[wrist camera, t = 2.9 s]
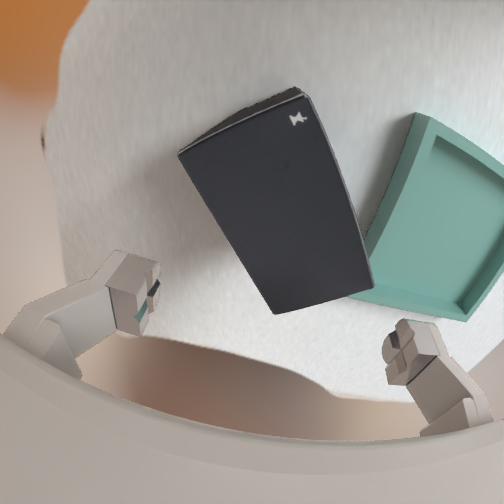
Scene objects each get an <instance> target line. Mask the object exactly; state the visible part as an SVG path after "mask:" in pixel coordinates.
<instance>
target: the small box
mask: <svg viewBox="0 0 504 504" xmlns="http://www.w3.org/2000/svg"><path fill="white" fill-rule="evenodd" d="M177 156H178V158H179V160H180V162H181V163H182V165H183V167H184V168H185V170H186V172H187V173H188V175H189V177H190V178H191V180H192V182H193V183H194V185H195V187H196V188H197V190H198V192H199V193H200V195H201V197H202V198H203V200H204V201H205V203H206V205H207V206H208V208H209V210H210V211H211V213H212V215H213V216H214V218H215V220H216V221H217V223H218V224H219V226H220V228H221V229H222V231H223V233H224V234H225V236H226V238H227V239H228V241H229V242H230V244H231V246H232V247H233V249H234V251H235V252H236V254H237V256H238V257H239V259H240V261H241V262H242V264H243V265H244V267H245V269H246V270H247V272H248V274H249V275H250V277H251V279H252V280H253V282H254V283H255V285H256V287H257V288H258V290H259V292H260V293H261V295H262V297H263V298H264V300H265V301H266V303H267V305H268V306H269V308H270V310H271V311H272V313H273V314H274V315H277V314H282V313H286V312H291V311H295V310H299V309H303V308H306V307H310V306H314V305H317V304H321V303H325V302H328V301H332V300H335V299H339V298H342V297H345V296H349V295H352V294H355V293H358V292H362V291H365V290H369V289H373V288H374V286H375V283H374V279H373V275H372V271H371V267H370V263H369V259H368V255H367V252H366V248H365V245H364V241H363V238H362V234H361V230H360V227H359V224H358V221H357V217H356V214H355V211H354V208H353V205H352V202H351V199H350V195H349V192H348V190H347V187H346V185H345V182H344V179H343V176H342V174H341V171H340V168H339V165H338V162H337V160H336V157H335V155H334V152H333V149H332V147H331V145H330V142H329V140H328V137H327V135H326V132H325V130H324V128H323V125H322V123H321V121H320V119H319V117H318V114H317V112H316V110H315V108H314V105H313V103H312V101H311V99H310V97H309V96H308V95H307V94H305V93H304V92H302V91H301V90H300V89H299V88H297V87H293V88H290V89H288V90H286V91H285V92H284V93H281V94H280V93H279V94H277V95H275V96H272V97H271V98H269V99H266V100H265V101H262V102H260V103H256V104H255V105H253V106H250V107H249V108H244V109H242V110H240V111H239V112H237V113H235V114H234V115H232V116H230V117H228V118H227V119H225V120H224V121H222V122H221V123H219V124H218V125H216V126H215V127H213V128H212V129H210V130H209V131H208V132H206V133H205V134H203V135H201V136H200V137H199V138H197V139H196V140H195V141H193V142H192V143H191V144H189V145H188V146H186V147H185V148H183V149H181V150H180V151H179V152H178V154H177Z"/></svg>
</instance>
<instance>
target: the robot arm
mask: <svg viewBox="0 0 504 504" xmlns="http://www.w3.org/2000/svg"><path fill="white" fill-rule="evenodd" d="M159 274H160V264H159V262H156V261H153V260H149V259H146V258H143V257H140V256H136V255H133V254H129V253H126V252H122V251H119V250H116V251H113V252H112V253H111V255H110V256H109V257H108V258H107V259H106V261H105V262H104V263H103V264H102V265H101V267H100V268H99V269H98V270H97V272H96V273H95V274H94V275H93V277H92V278H91V279H90V280H86V279H85V280H83V281H80V282H78V283H75V284H73V285H71V286H68V287H66V288H64V289H61V290H59V291H57V292H54V293H52V294H50V295H47V296H45V297H43V298H40V299H38V300H36V301H34V302H31V303H29V304H27V305H25V306H24V307H23V308H22V309H21V311H20V312H19V313H18V315H17V316H16V317H15V318H14V320H13V321H12V322H11V324H10V325H9V326H8V328H7V329H6V331H5V332H4V333H3V335H2V334H0V504H504V419H501V420H498V421H495V422H493V418H492V414H491V411H490V407H489V404H488V401H487V398H486V395H485V394H484V393H483V391H482V390H481V389H480V388H479V387H478V386H477V384H476V383H475V382H474V381H473V380H472V379H471V378H470V377H469V375H468V374H467V373H466V372H465V371H464V370H463V369H462V367H461V366H460V365H459V364H458V363H457V362H456V361H455V360H454V359H453V358H452V357H449V354H448V352H447V349H446V346H445V344H444V341H443V339H442V336H441V334H440V332H439V329H438V327H437V326H436V325H435V324H434V323H429V322H421V321H415V320H409V319H404V318H403V319H401V320H399V321H398V323H397V324H396V325H395V331H393V332H392V333H390V334H388V336H387V337H386V338H385V340H384V342H383V346H382V356H383V359H384V361H385V362H386V363H387V366H386V368H385V371H386V375H387V380H388V384H389V385H403V386H406V388H407V389H408V391H409V392H410V394H411V396H412V397H413V399H414V400H415V402H416V403H417V405H418V407H419V408H420V410H421V411H422V413H423V415H424V416H425V418H426V420H427V421H428V423H429V425H427V426H426V427H424V428H423V429H421V431H420V437H413V438H404V439H392V440H375V441H325V440H306V439H295V438H285V437H276V436H268V435H261V434H254V433H248V432H242V431H236V430H232V429H226V428H222V427H217V426H212V425H208V424H204V423H200V422H195V421H192V420H188V419H184V418H181V417H177V416H174V415H170V414H166V413H164V412H160V411H157V410H154V409H151V408H148V407H145V406H142V405H139V404H136V403H134V402H131V401H128V400H126V399H123V398H121V397H118V396H115V395H113V394H111V393H108V392H106V391H103V390H101V389H99V388H96V387H94V386H92V385H90V384H88V383H85V382H83V381H81V380H80V379H81V377H82V373H81V370H80V368H79V366H78V364H77V362H76V360H75V358H77V357H78V356H79V355H81V354H82V353H84V352H85V351H87V350H88V349H90V348H91V347H93V346H94V345H96V344H97V343H99V342H100V341H102V340H103V339H105V338H106V337H108V336H109V335H111V334H112V333H114V332H115V331H116V329H118V330H121V331H124V332H127V333H130V334H133V335H136V336H140V337H141V336H142V334H143V332H144V330H145V328H146V326H147V324H148V322H149V321H148V314H149V313H151V312H153V311H154V309H155V307H156V305H157V302H158V299H159V294H160V282H159V281H158V279H157V278H158V276H159Z"/></svg>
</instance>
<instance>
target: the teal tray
mask: <svg viewBox="0 0 504 504" xmlns="http://www.w3.org/2000/svg"><path fill="white" fill-rule="evenodd" d="M364 245H365V248H366V252H367V255H368V259H369V263H370V267H371V271H372V275H373V279H374V283H375V286H374V288H373V289H369V290H365V291H362V292H358V293H355V294H352V295H349V296H347V297H348V298H352V299H356V300H361V301H365V302H370V303H375V304H379V305H384V306H388V307H393V308H398V309H403V310H407V311H412V312H417V313H422V314H427V315H432V316H437V317H442V318H447V319H452V320H457V321H462V322H467V320H468V319H469V318H470V317H471V316H472V314H473V313H474V312H475V311H476V309H477V308H478V307H479V305H480V304H481V303H482V301H483V300H484V299H485V297H486V296H487V295H488V293H489V292H490V290H491V289H492V288H493V286H494V285H495V283H496V282H497V280H498V279H499V277H500V276H501V274H502V273H503V271H504V165H502V164H501V163H500V162H498V161H497V160H496V159H495V158H493V157H492V156H491V155H489V154H488V153H486V152H485V151H484V150H482V149H481V148H479V147H478V146H477V145H475V144H474V143H472V142H471V141H469V140H468V139H466V138H465V137H463V136H462V135H460V134H458V133H457V132H455V131H454V130H452V129H450V128H449V127H447V126H445V125H444V124H442V123H440V122H438V121H437V120H435V119H433V118H431V117H429V116H426V115H423V114H420V113H417V112H416V113H415V116H414V119H413V122H412V125H411V128H410V131H409V133H408V136H407V139H406V142H405V145H404V147H403V150H402V153H401V155H400V158H399V160H398V163H397V166H396V168H395V171H394V173H393V176H392V178H391V181H390V183H389V185H388V188H387V190H386V192H385V195H384V197H383V199H382V202H381V204H380V206H379V209H378V211H377V213H376V215H375V217H374V220H373V222H372V224H371V226H370V228H369V230H368V232H367V235H366V237H365V239H364Z"/></svg>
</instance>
